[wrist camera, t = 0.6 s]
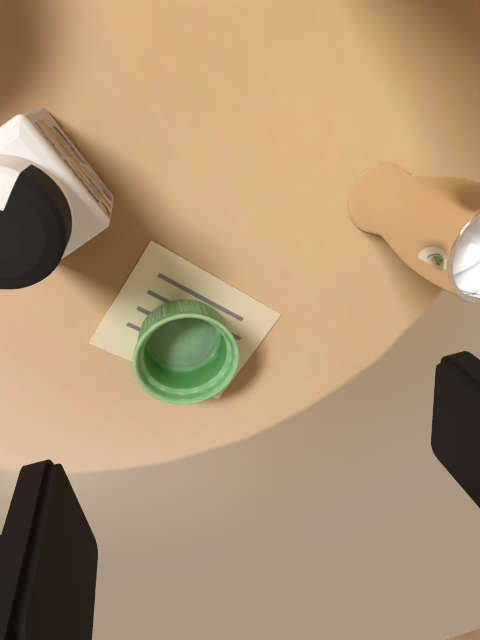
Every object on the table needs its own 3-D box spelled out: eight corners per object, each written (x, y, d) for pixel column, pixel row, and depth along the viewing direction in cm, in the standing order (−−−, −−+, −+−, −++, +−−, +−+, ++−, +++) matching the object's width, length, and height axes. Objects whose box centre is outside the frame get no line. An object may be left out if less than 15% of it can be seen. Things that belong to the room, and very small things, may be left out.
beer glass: (344, 161, 38) (455, 202, 25) (421, 152, 39) (566, 187, 26) (340, 241, 41) (437, 315, 28) (411, 231, 42) (536, 298, 29)
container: (116, 198, 35) (108, 252, 24) (38, 254, 36) (-6, 331, 25) (44, 105, 32) (-6, 117, 20) (-42, 169, 32) (-137, 216, 21)
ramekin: (131, 292, 39) (131, 314, 35) (234, 292, 41) (244, 313, 37) (133, 379, 43) (133, 407, 39) (226, 375, 45) (235, 402, 41)
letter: (151, 240, 37) (151, 240, 37) (281, 314, 43) (281, 314, 43) (88, 342, 40) (88, 343, 40) (218, 398, 46) (218, 399, 46)
